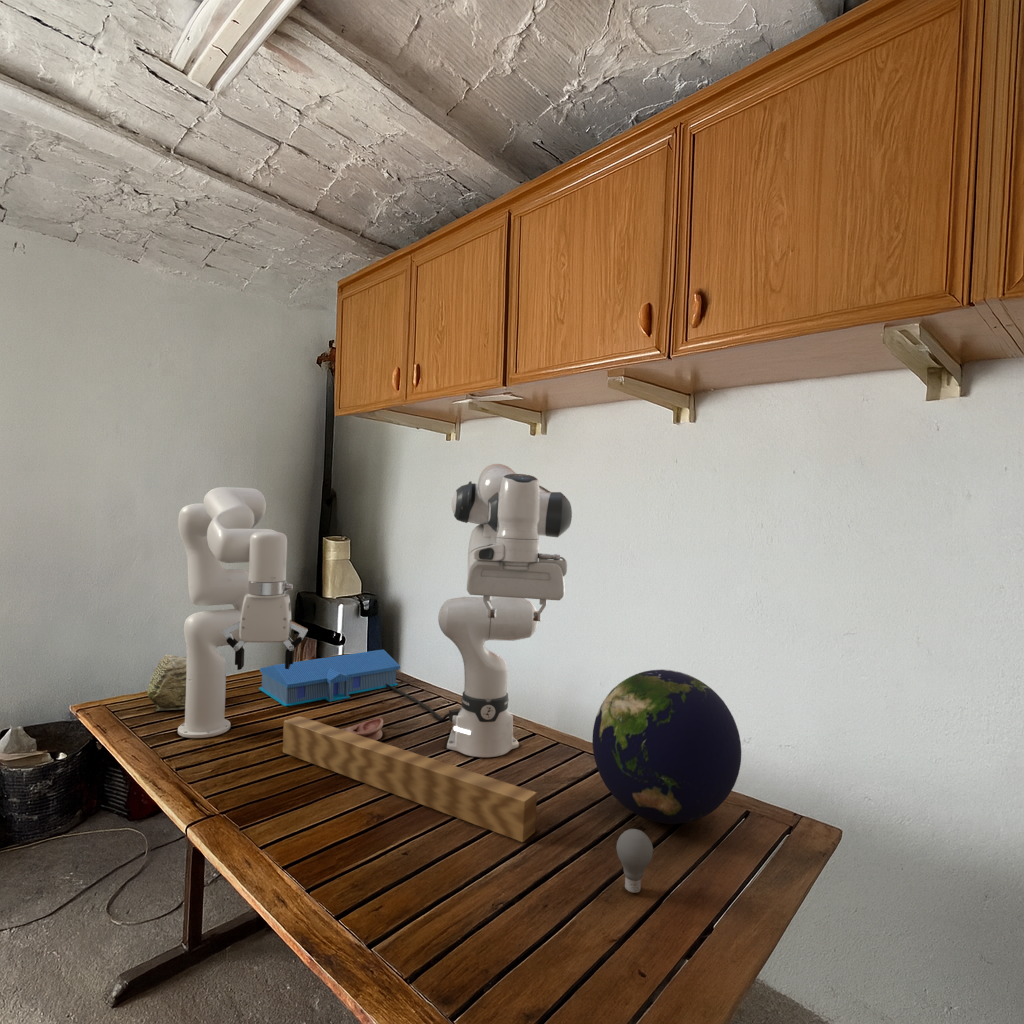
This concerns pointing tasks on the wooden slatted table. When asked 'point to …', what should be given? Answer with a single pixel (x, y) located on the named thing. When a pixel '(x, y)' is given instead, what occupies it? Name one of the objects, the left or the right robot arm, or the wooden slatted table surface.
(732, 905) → the wooden slatted table surface
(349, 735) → the bar
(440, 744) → the wooden slatted table surface
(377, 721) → the anatomical model
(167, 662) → the fossil
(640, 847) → the light bulb
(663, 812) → the globe
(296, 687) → the model building
